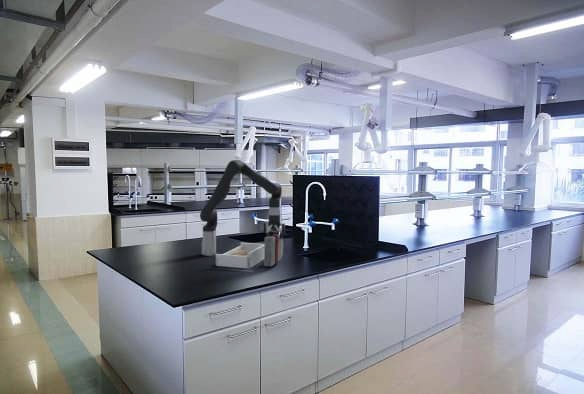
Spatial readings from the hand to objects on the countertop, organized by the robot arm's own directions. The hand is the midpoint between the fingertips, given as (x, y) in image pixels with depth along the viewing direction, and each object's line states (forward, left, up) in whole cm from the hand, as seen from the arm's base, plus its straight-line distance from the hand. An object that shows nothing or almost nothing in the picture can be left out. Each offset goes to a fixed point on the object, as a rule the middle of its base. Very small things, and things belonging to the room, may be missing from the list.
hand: (274, 238), depth 240 cm
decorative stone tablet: (0, 0, -16) cm, 16 cm away
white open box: (-20, 0, -16) cm, 26 cm away
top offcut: (-24, +1, -13) cm, 28 cm away
